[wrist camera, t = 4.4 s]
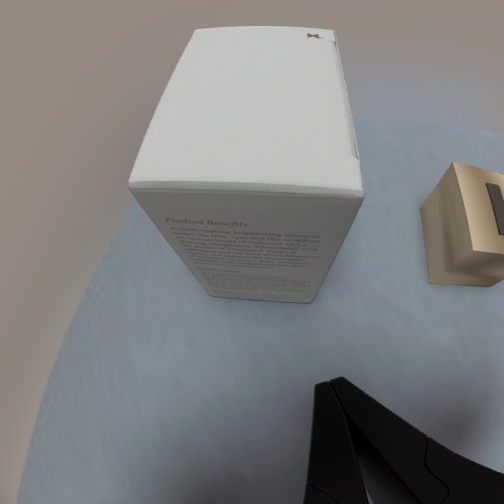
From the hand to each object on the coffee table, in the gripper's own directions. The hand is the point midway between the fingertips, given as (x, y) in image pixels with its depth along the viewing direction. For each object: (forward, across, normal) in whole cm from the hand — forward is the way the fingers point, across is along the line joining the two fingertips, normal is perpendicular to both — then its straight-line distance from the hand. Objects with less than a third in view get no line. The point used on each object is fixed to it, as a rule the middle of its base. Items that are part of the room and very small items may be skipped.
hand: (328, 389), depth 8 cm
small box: (+11, 0, -1) cm, 11 cm away
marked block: (+8, -12, +2) cm, 14 cm away
